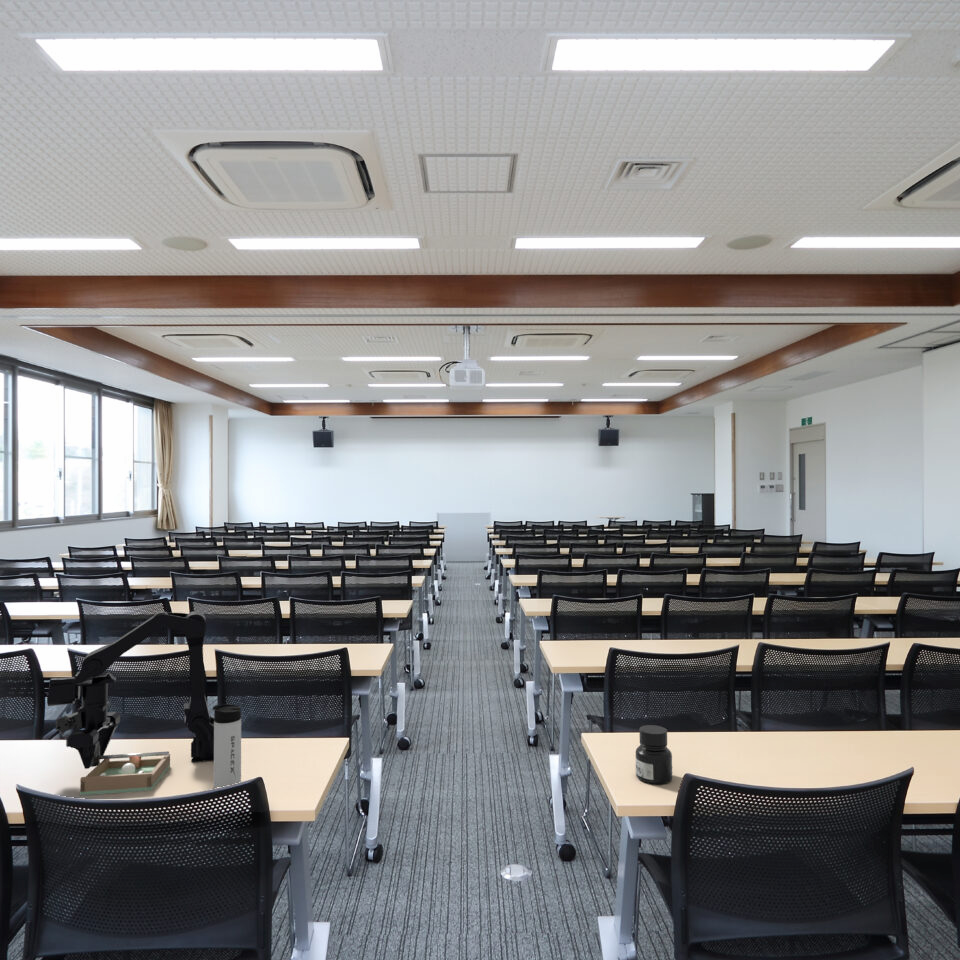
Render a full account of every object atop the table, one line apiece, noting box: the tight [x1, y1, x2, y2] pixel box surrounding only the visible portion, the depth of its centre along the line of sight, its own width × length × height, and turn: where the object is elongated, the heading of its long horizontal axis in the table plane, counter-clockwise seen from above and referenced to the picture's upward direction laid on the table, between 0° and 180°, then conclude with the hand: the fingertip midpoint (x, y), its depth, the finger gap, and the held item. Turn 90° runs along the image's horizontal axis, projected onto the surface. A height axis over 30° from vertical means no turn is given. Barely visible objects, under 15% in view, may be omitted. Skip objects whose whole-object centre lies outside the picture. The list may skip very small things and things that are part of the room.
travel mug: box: [212, 704, 242, 789], centre depth 164 cm, size 6×7×20 cm
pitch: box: [79, 753, 171, 796], centre depth 169 cm, size 16×15×4 cm
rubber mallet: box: [90, 743, 170, 768], centre depth 174 cm, size 20×3×6 cm, turn 99°
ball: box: [121, 763, 135, 774], centre depth 170 cm, size 3×3×3 cm
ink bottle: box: [635, 724, 673, 785], centre depth 168 cm, size 10×9×12 cm
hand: (94, 762), depth 173 cm, fingers open, 8 cm apart
